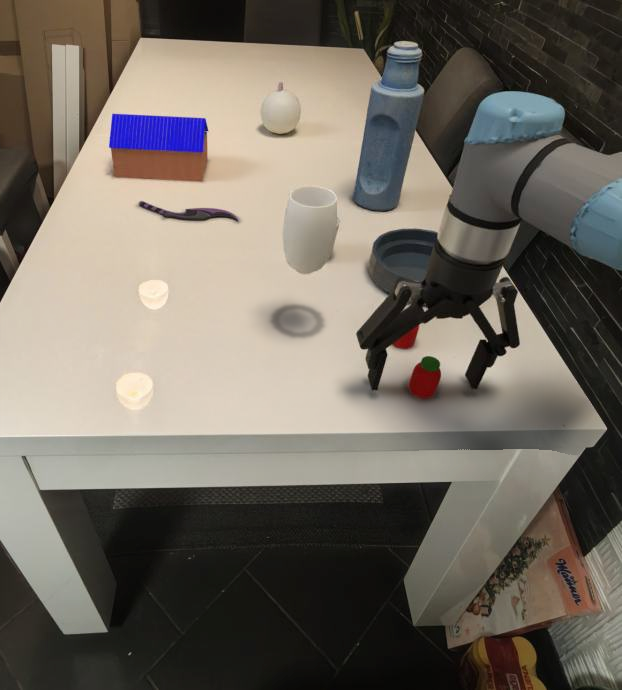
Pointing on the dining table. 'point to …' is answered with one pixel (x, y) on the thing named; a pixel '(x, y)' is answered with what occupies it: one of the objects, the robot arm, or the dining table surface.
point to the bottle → (389, 129)
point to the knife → (191, 212)
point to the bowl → (401, 256)
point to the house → (158, 147)
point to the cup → (309, 228)
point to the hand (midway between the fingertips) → (421, 382)
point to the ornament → (280, 111)
